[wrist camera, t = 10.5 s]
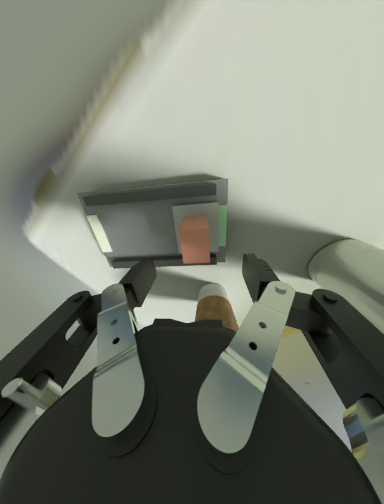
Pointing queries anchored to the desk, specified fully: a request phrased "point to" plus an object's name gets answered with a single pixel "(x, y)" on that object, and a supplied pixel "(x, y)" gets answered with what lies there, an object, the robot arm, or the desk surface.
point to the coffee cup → (215, 306)
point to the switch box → (150, 221)
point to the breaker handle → (197, 230)
